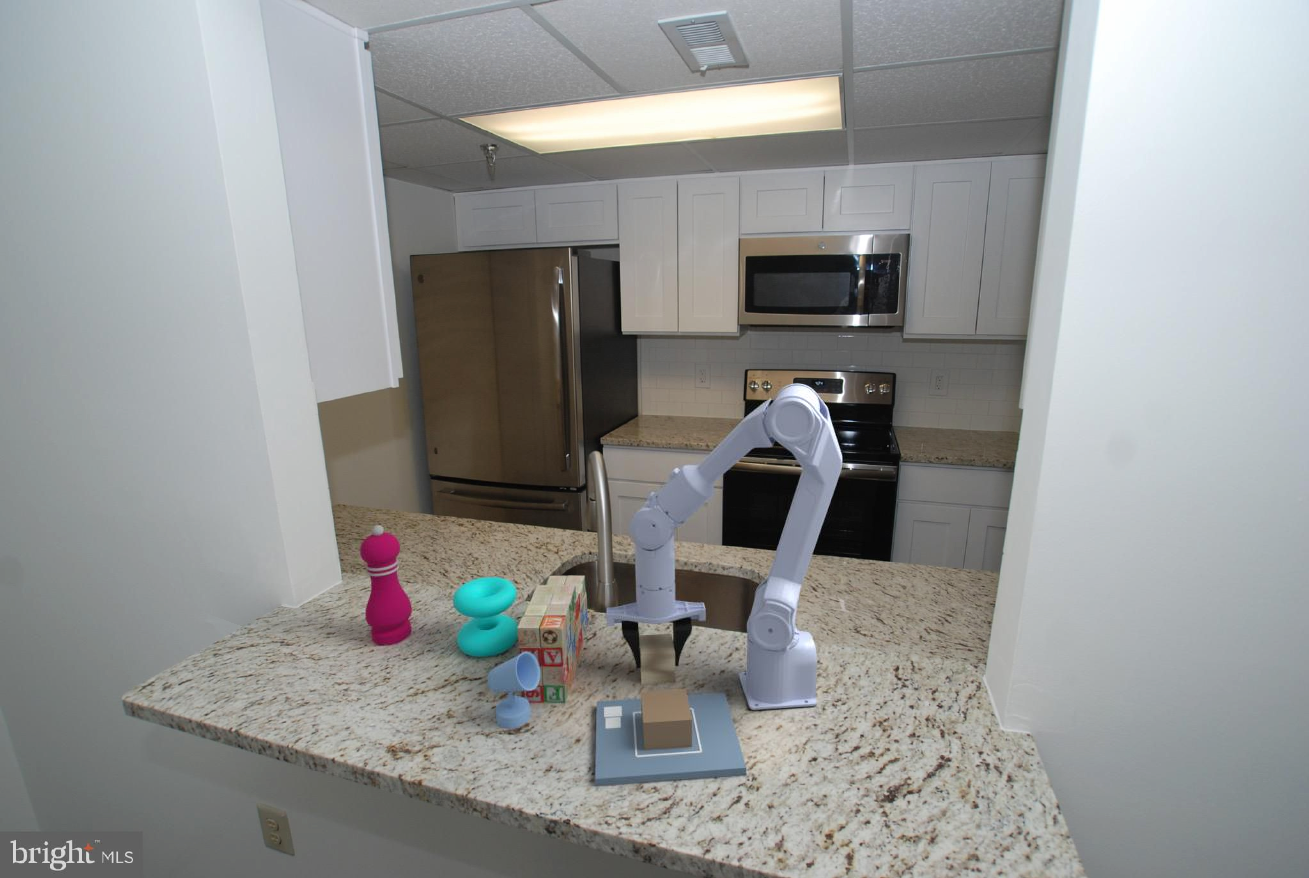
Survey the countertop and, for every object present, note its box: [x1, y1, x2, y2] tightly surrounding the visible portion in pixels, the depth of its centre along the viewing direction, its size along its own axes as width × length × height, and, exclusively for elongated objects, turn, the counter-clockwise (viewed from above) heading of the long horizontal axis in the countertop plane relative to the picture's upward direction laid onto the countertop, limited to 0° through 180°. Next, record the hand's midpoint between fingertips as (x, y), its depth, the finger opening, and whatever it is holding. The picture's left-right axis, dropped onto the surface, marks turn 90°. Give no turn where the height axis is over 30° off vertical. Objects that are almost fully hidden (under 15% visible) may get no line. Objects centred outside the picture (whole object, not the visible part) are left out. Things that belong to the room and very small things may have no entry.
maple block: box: [639, 633, 676, 685], centre depth 94 cm, size 5×5×5 cm
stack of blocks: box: [517, 575, 589, 704], centre depth 97 cm, size 21×6×12 cm, turn 178°
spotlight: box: [487, 652, 540, 729], centre depth 84 cm, size 5×10×7 cm
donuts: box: [452, 576, 519, 658], centre depth 102 cm, size 10×10×10 cm
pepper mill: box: [359, 524, 413, 646], centre depth 103 cm, size 7×7×20 cm
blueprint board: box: [594, 688, 747, 787], centre depth 80 cm, size 18×14×5 cm
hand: (657, 663), depth 94 cm, fingers closed on maple block, 5 cm apart
